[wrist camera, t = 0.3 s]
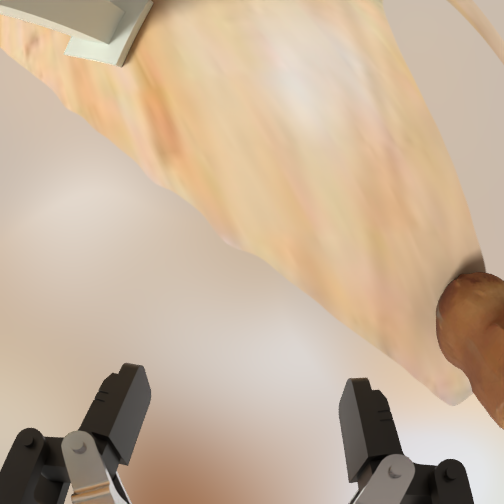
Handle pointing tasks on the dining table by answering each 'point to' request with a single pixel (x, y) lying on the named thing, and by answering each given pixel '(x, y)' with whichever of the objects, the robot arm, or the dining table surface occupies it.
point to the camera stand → (86, 24)
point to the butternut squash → (475, 335)
